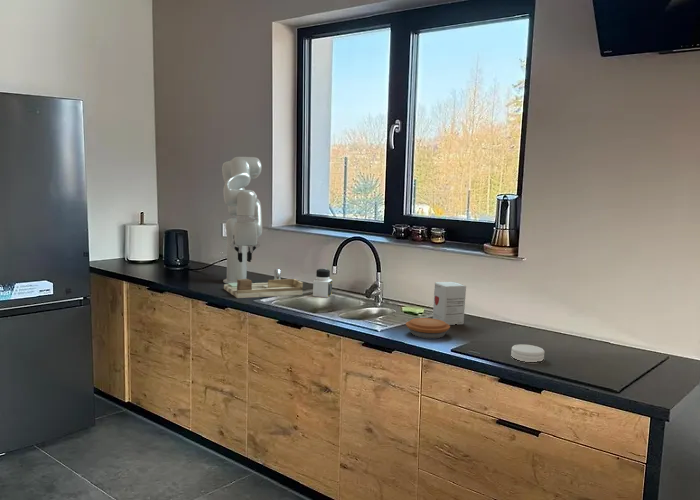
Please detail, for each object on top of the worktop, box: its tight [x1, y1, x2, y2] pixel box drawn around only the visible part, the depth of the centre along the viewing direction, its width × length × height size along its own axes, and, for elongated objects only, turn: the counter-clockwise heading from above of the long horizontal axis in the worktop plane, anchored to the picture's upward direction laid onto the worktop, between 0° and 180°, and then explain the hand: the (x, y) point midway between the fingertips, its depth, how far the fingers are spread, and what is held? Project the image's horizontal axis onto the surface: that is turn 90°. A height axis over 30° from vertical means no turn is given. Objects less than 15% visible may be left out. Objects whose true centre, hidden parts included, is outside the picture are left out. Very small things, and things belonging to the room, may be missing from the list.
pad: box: [228, 283, 237, 288], centre depth 283 cm, size 7×7×1 cm
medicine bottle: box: [312, 268, 333, 298], centre depth 279 cm, size 7×7×12 cm
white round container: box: [510, 344, 545, 363], centre depth 194 cm, size 10×10×4 cm
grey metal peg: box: [273, 268, 282, 280], centre depth 291 cm, size 3×3×7 cm
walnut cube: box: [237, 278, 253, 290], centre depth 271 cm, size 5×5×5 cm
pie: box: [405, 317, 451, 339], centre depth 218 cm, size 16×16×5 cm
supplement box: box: [432, 281, 467, 326], centre depth 237 cm, size 9×9×15 cm
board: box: [223, 278, 304, 299], centre depth 282 cm, size 22×30×6 cm
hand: (244, 261), depth 270 cm, fingers open, 3 cm apart
